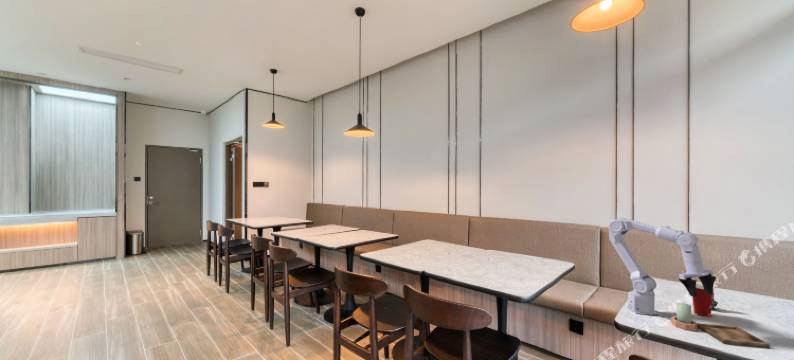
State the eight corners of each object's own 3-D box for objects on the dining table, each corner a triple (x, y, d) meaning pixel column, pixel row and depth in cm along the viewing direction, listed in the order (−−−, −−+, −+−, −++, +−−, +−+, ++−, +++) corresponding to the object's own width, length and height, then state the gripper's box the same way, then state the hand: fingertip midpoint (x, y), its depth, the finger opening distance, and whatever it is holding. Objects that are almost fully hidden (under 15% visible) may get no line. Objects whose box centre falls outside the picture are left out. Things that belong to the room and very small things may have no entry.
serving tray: (723, 343, 115) (723, 340, 115) (696, 326, 129) (696, 322, 129) (769, 348, 112) (769, 344, 112) (736, 329, 126) (736, 326, 126)
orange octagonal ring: (679, 329, 126) (679, 323, 126) (667, 321, 133) (667, 315, 133) (701, 331, 124) (701, 325, 124) (688, 322, 132) (688, 317, 132)
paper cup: (719, 318, 135) (719, 287, 135) (698, 317, 137) (698, 286, 137) (705, 311, 143) (705, 281, 143) (686, 309, 145) (686, 280, 145)
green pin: (681, 328, 127) (681, 306, 127) (674, 323, 131) (674, 302, 131) (693, 329, 126) (694, 307, 126) (686, 324, 130) (686, 303, 130)
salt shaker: (697, 306, 149) (697, 281, 149) (708, 305, 149) (708, 281, 149) (710, 311, 143) (710, 286, 143) (721, 311, 143) (721, 285, 143)
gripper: (688, 264, 124) (696, 299, 122) (718, 260, 126) (727, 294, 124) (671, 262, 131) (678, 295, 129) (699, 258, 133) (707, 291, 131)
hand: (701, 295), depth 127 cm, fingers open, 7 cm apart
